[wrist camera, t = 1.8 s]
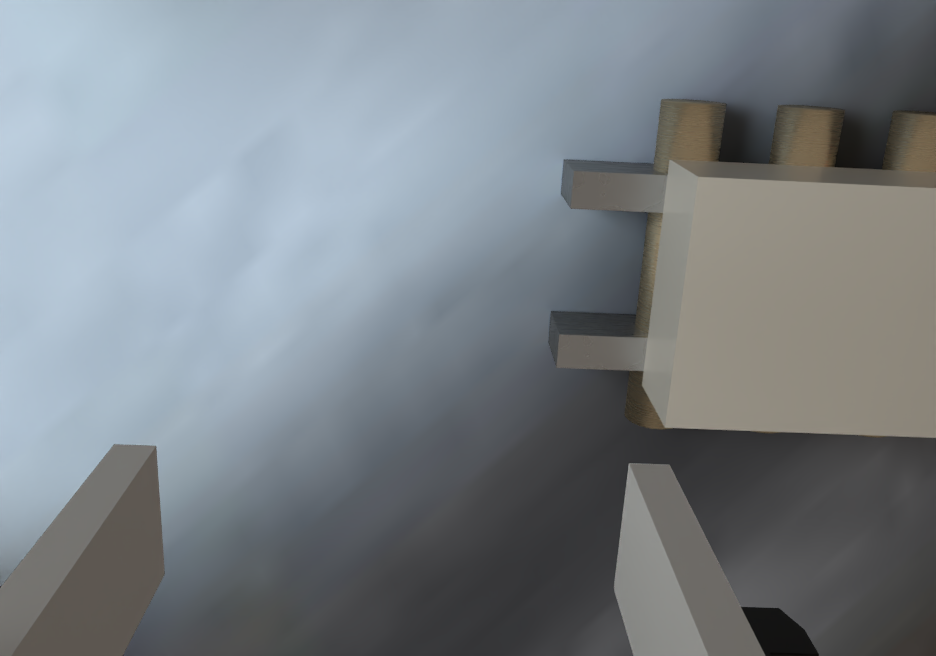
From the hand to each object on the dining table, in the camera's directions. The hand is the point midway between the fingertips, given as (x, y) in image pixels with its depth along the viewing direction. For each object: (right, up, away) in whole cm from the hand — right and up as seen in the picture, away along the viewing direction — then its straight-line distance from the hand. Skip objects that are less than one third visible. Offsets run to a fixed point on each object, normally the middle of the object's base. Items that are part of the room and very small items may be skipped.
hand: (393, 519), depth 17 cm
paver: (+15, +5, +18) cm, 24 cm away
